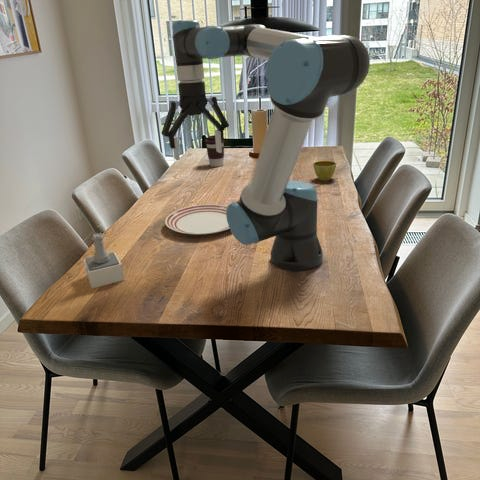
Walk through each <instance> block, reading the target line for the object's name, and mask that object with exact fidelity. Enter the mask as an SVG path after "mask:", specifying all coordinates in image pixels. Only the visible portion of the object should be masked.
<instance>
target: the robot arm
mask: <svg viewBox="0 0 480 480" xmlns="http://www.w3.org/2000/svg"><path fill="white" fill-rule="evenodd" d="M171 37H172V41H173V50H174V59H175V67H176V68H175V69H176V75H177V76H176V78H177V81H178V84H177V85H178V88H177V89H178V95H179V101H173V100H170V101H168V112H167V113H166V114H167V115H166V117H165V122H164V124H163V127H162V130H161V135H162V136H163V137H167V138H168V142H169V144H168V145H169V148H170V149H171V150H172V151H173V158H174V159H175V160H176V161H179V160H180V152H179V151H180V150H179V143H178V137H177V136H176V134H177V133H178V131H179V129H180V128H181V126H182V125H183V124H184V121H185V119H186V118H187V117H188V116H190V117H193V116H201V115H203V116H204V117H206V119H207V120H208V121H209V122H210V123H211V124H212V125H213V126H214V127H215V128H216V129H215V130H214V135H215V140H216V151H217V152H219V153H222V145H221V141H223V140H224V141H225V138H224V137H225V136H224V131H225V129H227V128H229V126H230V124H229V122H228V121H227V119H226V117H225V115H224V113H223V111H222V110H221V107H220V106H219V105H218V99H217V97H216V96H212V95H211V96H210V97H207V96H206V94H207V93H206V83H205V81H204V79H205V72H204V70H205V69H204V61H203V59H208V60H213V59H214V60H216V59H220V58H228V57H229V58H230V57H236V56H238V57H239V56H247V57H251V58H256V59H260V60H263V61H267V64H266V66H265V72H264V73H265V75H264V77H265V79H267V81H266V83H265V85H266V90H267V92H268V95H269V96H270V97H269V99H270V102H271V104H272V105H273V107H274V108H273V111H272V113H271V117H270V121H269V123H268V126H267V129H266V132H265V136H264V138H263V139H264V140H263V141H262V142H263V143H262V145H261V149H260V151H259V155H258V159H257V161H256V166H255V168H254V171H253V174H252V177H251V182H250V183H248V184H247V185H245V186H244V187H243V189H242V190H241V193H240V196H239V199H238V201H233V202H232V203H229V204H228V205H227V206H228V207H227V210H226V217H227V222H228V225H229V228H230V229H229V230H230V232H231V235H232V236H233V237H234V238H235V239H236V241H237V242H239V243H240V244H241V245H245V246H249V245H252V244H258V243H260V242H263V241H265V240H269V239H271V238H274V240H273V244H272V246H271V250H270V262H271V264H272V265H273V266H275V268H279V270H280V269H281V270H283V271H291V272H301V271H303V272H304V271H308V270H312V269H315V268H317V267H318V266H320V265H321V264H322V263H323V261H324V258H323V257H324V256H323V254H324V251H323V249H322V247H321V243H320V241H319V237H318V235H317V234H318V202H319V199H318V192H317V188H316V186H315V185H313V184H312V183H308V182H304V181H299V180H290V179H291V177H292V173H293V171H294V169H295V165H296V163H297V161H298V158H299V155H300V153H301V150H302V148H303V145H304V142H305V140H306V137H307V135H308V132H309V130H310V127H311V125H312V122H313V120H316V119H318V118H320V117H321V116H323V113H324V111H325V109H326V108H327V107H326V106H327V104H328V101H329V99H330V98H332V97H337V96H341V95H347V94H349V93H352V92H354V91H355V90H357V89H358V88H359V87H360V86H361V85H362V84H363V83H364V82H365V80H366V78H367V76H368V73H369V70H370V66H371V62H370V54H369V50H368V49H367V47H366V45H365V44H364V43H363V42H362V41H361V40H360V39H358V38H357V37H355V36H352V35H347V34H346V35H345V34H340V35H338V34H337V35H335V34H328V35H326V36H312V35H307V34H301V33H295V32H290V31H285V30H279V29H273V28H272V29H271V28H267V27H266V26H265V25H263V24H256V23H250V24H241V25H239V24H238V25H218V26H217V25H207V26H206V25H205V26H202V27H201V26H200V22H199V21H198V20H196V19H193V20H192V19H191V20H188V19H187V20H180V21H178V20H177V21H174V22H173V23H172V36H171ZM208 104H209V105H210V106H211V108H212V110H213V112H214V113H215V115H216V116H217V118H218V120H219V121H218V120H217V119H216V118H215V116H214V115H213V114H211V113H210V111H209V110H208V109H207V108H206V107H207V105H208ZM179 107H180V109H181V110H180V112H179V115H178V116H177V118H176V119H175V121H174V123H173V120H174V117H175V114H176V111H177V109H178V108H179ZM172 123H173V125H172Z"/></svg>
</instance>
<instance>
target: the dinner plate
mask: <svg viewBox="0 0 480 480" xmlns="http://www.w3.org/2000/svg"><path fill="white" fill-rule="evenodd" d="M227 207H228V205H223V204H214V203H208V204H207V203H206V204H205V203H204V204H196V205H194V204H193V205H190V206H185V207H182V208H179V209H176V210H174V211H173V212H171V213H169V215H167V216H166V218H165V220H164V223H165V225H166V227H167V228H168V229H170V230H172V231H174V232H177V233H180V234H184V235H192V236H208V235H213V234H218V233H222V232H224V231H228V230H230V228H229V225H228V222H227V217H226V210H227Z"/></svg>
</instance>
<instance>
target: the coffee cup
mask: <svg viewBox="0 0 480 480" xmlns="http://www.w3.org/2000/svg"><path fill="white" fill-rule="evenodd" d="M204 143H205V145H206V152H207V158H208V162H209V166H210V167H213V168H214V167H215V168H219V167H222V166H224V164H225V163H224V161H225V160H224V157H225V145H224V143H225V139H224V140H223V141H221V145H222V153H219V152H217V151H216V140H215V134H213V135H209V136H207V138H205V140H204Z"/></svg>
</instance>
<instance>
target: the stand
mask: <svg viewBox="0 0 480 480" xmlns="http://www.w3.org/2000/svg"><path fill="white" fill-rule="evenodd" d="M108 253H109V257H110V259H109V261H108V262H106V263H102V264H98V263H95V262H94V256H91V257H87V258H85V259H83V263H84V267H85V272H86V276H87V278H88V279H87V280H88V281H89V284H90V287H91V289H96V288H100V287H103V286H107V285H111V284H114V283H115V284H116V283H118V282H123V281H125V274H124V269H123V265H122V262H121V261H120V259H119V256H118V255H117V253H116V252H108Z"/></svg>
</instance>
